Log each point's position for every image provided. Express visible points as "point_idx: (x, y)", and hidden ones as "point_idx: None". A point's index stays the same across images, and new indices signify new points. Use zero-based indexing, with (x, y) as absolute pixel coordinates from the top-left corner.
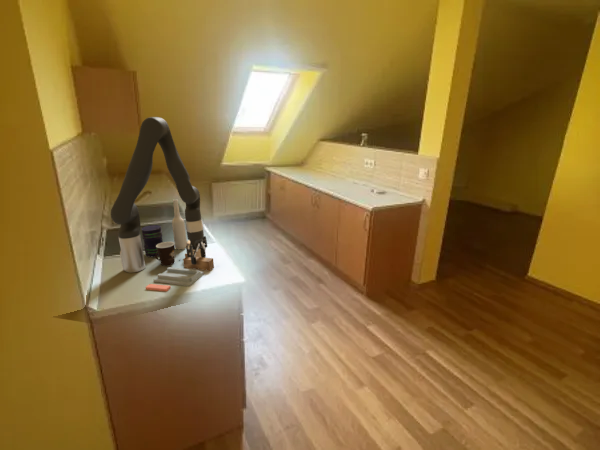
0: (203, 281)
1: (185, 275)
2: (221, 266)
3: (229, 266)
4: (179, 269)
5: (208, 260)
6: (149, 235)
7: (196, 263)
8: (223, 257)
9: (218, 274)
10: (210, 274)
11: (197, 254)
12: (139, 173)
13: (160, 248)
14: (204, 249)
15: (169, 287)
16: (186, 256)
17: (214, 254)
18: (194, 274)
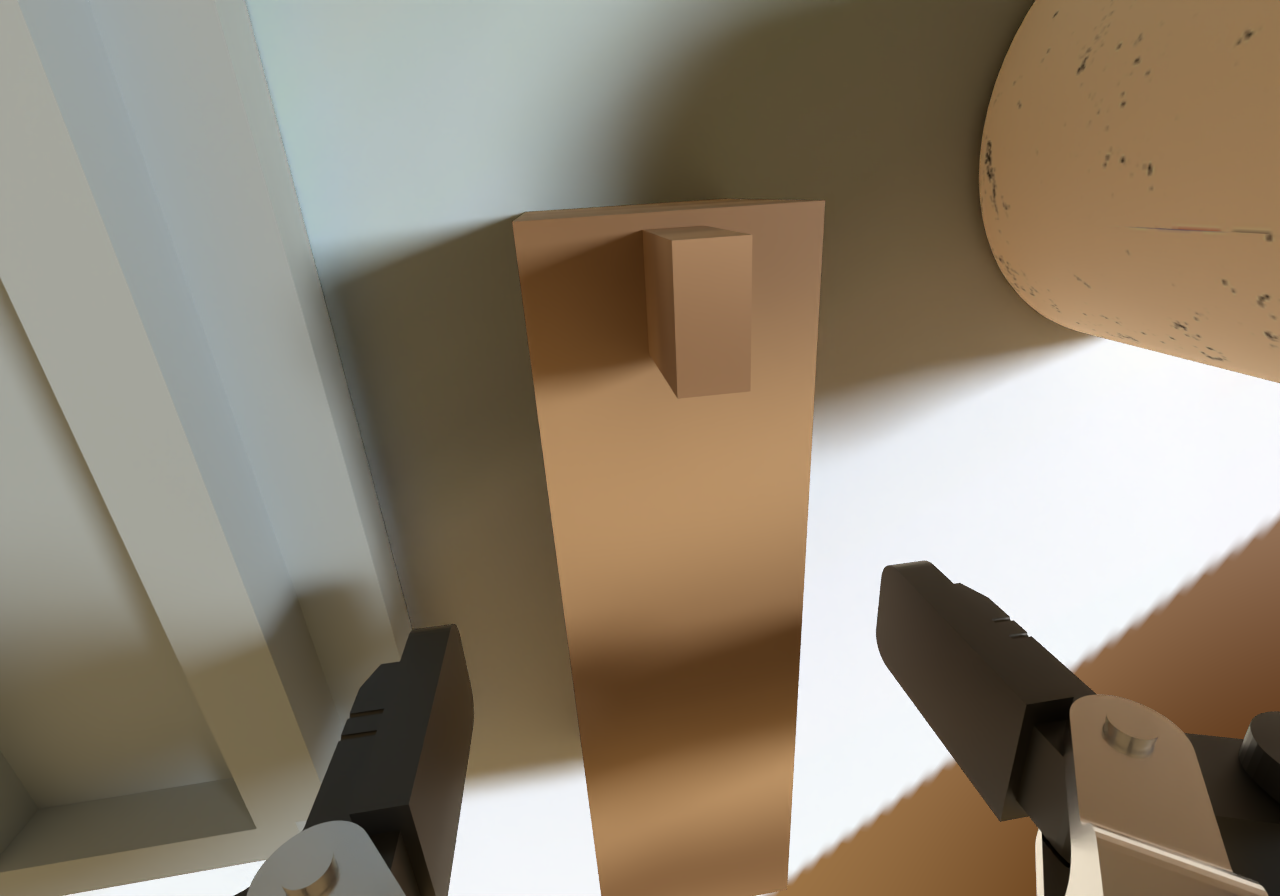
0: (225, 868)
1: (104, 608)
2: None
3: (806, 857)
4: (83, 417)
5: (662, 882)
6: None
7: (471, 719)
8: (1122, 625)
9: (525, 888)
10: (478, 813)
11: (1113, 282)
12: None
13: None
14: (1038, 862)
15: None
16: (653, 303)
17: (1275, 410)
18: (115, 861)
